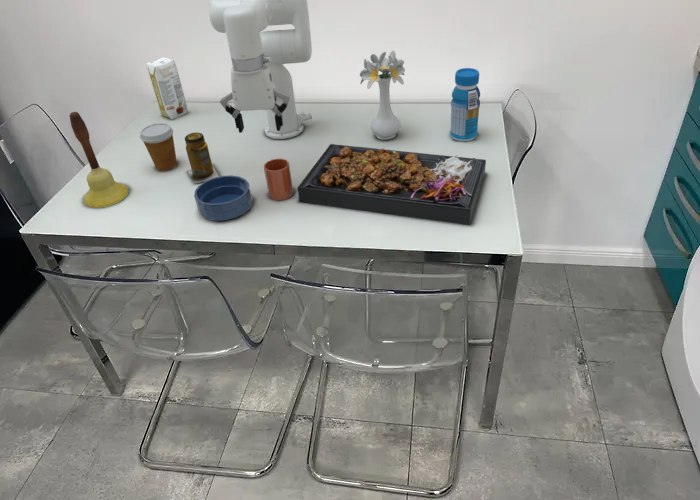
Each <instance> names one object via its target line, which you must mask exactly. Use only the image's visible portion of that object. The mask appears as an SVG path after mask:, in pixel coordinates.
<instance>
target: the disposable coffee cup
mask: <svg viewBox="0 0 700 500" xmlns="http://www.w3.org/2000/svg"><path fill="white" fill-rule="evenodd" d="M139 132H140V135H139V139H140V140H141V141H142V142H143V144H144V146H145V148H146V150H147V153H148V154H149V156H150V158H151V160H152V163H153V164H154V166H155V169H156V170H157V171H159V172H160V171H161V172H164V171H170V170H173V169H174V168H176V167H177V166H178V161H177V154H176V148H175V141H174V129H173V128H172V126H171V125H170V124H168V123H166V122H157V123H152V124H149V125H147V126H144V127H143V128H141V130H140V131H139Z"/></svg>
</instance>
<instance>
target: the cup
mask: <svg viewBox="0 0 700 500" xmlns="http://www.w3.org/2000/svg"><path fill="white" fill-rule="evenodd" d="M290 166H291V165H290V162H289V161H288V160H287V159H285V158H274V159H270V160H268V161H266V162H265V163H263V170H264V176H265V182H266V187H267V191H268V195H269V198H270V199H271V200H274V201H285V200H287V199H290V198H291V197H292V196H293V195H294V186H293V180H292V174H291V168H290Z"/></svg>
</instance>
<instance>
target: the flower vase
mask: <svg viewBox="0 0 700 500" xmlns="http://www.w3.org/2000/svg"><path fill="white" fill-rule="evenodd" d="M386 55H387V52H386V51H384V52H382V53H381V54H380V55H379V57H378V55H376V53H372V54H371V55H370V61H369V60H367V59H366V58H364V60H363V67H364V69H362V70H361V71H360V72H359V77H361V80H360V85H362V84H363V82H364V81H368V82H367V84H366V88H367V89H368V90H370V88H372V86H373V84H374V83H378V89H379V90H378V92H379V106H378V107H379V108H378V111H377V114H376V115H375V117H373V119H372V121H371V122H370V130H371V131H372V133H373V134H374V135H375V137H376V138H377V139H379V140H383V141H388V140H392V139H394V138H395V137H396V135H397V133H399V131H400V130H401V128H402V124H401V121H400V119H399V118H398V117H397V115H395V114H394V113H393V110H392V107H391V96H390V87H391V80H392V83H393V84H396V83H397V82H398V83H399V84H400V85H404V84H405V83H404V79H403V77H402V76H405V72H406V69H405V67H404V64H405V61H404V60H403V59H401V58H400V59H398V58H397V57H396V52H395V50H391V51H390V53H389V55H388V57H386ZM379 72H381V73H379ZM401 75H402V76H401Z"/></svg>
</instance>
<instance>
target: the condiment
mask: <svg viewBox="0 0 700 500" xmlns="http://www.w3.org/2000/svg"><path fill="white" fill-rule="evenodd" d="M184 141H185V151H186V155H187V158H188V161H189V165H190V170H187V172H188V175H189V176H190V178H191V180H192V181H193V183H194V184H201V183H203V182H205V181H207V180H210V179H212V178H215V177H219V176H220V175H219V173H218V172H217V170H216V168H215V167H214V166H213V162H212V159H211V154H210V151H209V146H208V143H207V142H206V140H205V136H204V134H203V133H201V132H197V131H196V132H190V133H187V134H186V136H185V137H184Z"/></svg>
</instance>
